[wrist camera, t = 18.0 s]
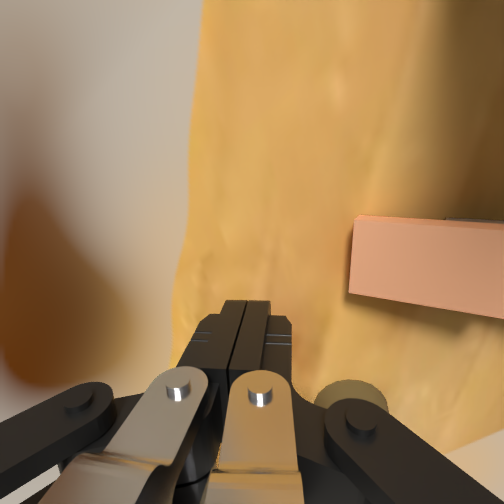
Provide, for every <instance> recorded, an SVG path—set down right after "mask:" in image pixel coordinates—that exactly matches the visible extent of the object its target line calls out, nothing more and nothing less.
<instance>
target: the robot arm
mask: <svg viewBox="0 0 504 504" xmlns="http://www.w3.org/2000/svg"><path fill="white" fill-rule="evenodd" d="M291 370H292V324H291V323H290V322H289V320H288V319H287V318H286V316H275V315H271V304H270V301H256V300H249V301H247V300H226V301H225V303H224V306H223V308H222V310H221V312H220V314H209V315H208V316H207V317H206V318H204V319H203V320H202V321H200V323H199V325H198V327H197V328H196V330H195V333H194V334H193V336H192V338H191V341H190V342H189V344H188V345H187V347H186V349H185V351H184V353H183V355H182V357H181V359H180V360H179V362H178V364H177V366H176V368H173V369H170V370H167V371H165V372H163V373H162V374H160V375H159V376H157V378H155V379H154V380H153V382H152V383H151V384H150V386H149V387H148V389H147V390H146V391H145V393H141V394H137V395H131V396H126V397H121V398H115V399H114V396H113V391H112V389H111V387H110V386H109V385H107V384H105V383H102V382H88V383H84V384H80V385H77V386H75V387H72V388H70V389H68V390H66V391H64V392H62V393H60V394H58V395H56V396H54V397H52V398H50V399H48V400H46V401H43V402H42V403H39V404H38V405H36V406H33V407H31V408H29V409H27V410H25V411H23V412H21V413H19V414H17V415H15V416H13V417H11V418H9V419H7V420H5V421H3V422H1V423H0V499H2V498H3V497H5V496H7V495H8V494H9V493H11V492H13V491H15V490H16V489H18V488H19V487H21V486H23V485H24V484H26V483H27V482H29V481H31V480H32V479H34V478H36V477H37V476H39V475H40V474H42V473H43V472H45V471H47V470H48V469H50V468H52V467H53V466H55V465H56V464H57V465H58V468H59V471H60V476H59V477H58V478H57V480H55V481H54V482H52V483H51V484H49V485H48V486H46V487H44V488H43V489H42V490H40V491H38V492H37V493H35V494H34V495H32V496H31V497H29V498H28V499H26V500H25V501H23V502H21V503H20V504H504V502H503V501H502V500H500V499H499V498H498V497H496V496H495V495H494V494H492V493H491V492H490V491H489V490H487V489H486V488H485V487H484V486H482V485H481V484H480V483H478V482H477V481H476V480H474V479H473V478H472V477H471V476H469V475H468V474H467V473H465V472H464V471H462V470H461V469H460V468H459V467H458V466H456V465H455V464H453V463H452V462H451V461H450V460H449V459H447V458H446V457H445V456H443V455H442V454H441V453H440V452H438V451H437V450H436V449H434V448H433V447H432V446H430V445H429V444H428V443H427V442H425V441H424V440H423V439H421V438H420V437H419V436H417V435H416V434H415V433H414V432H412V431H411V430H410V429H408V428H407V427H406V426H405V425H403V424H402V423H401V422H399V421H398V420H397V419H395V418H394V417H393V416H392V415H390V414H389V413H388V412H386V411H385V410H384V409H382V408H381V407H379V406H378V405H376V404H374V403H372V402H369V401H367V400H363V399H357V398H346V399H341V400H338V401H336V402H334V403H333V404H332V405H331V406H330V407H329V408H328V409H326V408H323V407H320V406H317V405H315V404H312V403H310V402H308V401H306V400H305V399H303V398H302V397H301V396H300V395H299V394H298V393H297V392H296V391H295V389H294V388H293V385H292V382H291ZM220 443H222V446H221V452H220V458H219V464H218V468H217V465H216V459H217V455H218V451H219V447H220Z"/></svg>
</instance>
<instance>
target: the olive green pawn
mask: <svg viewBox="0 0 504 504" xmlns="http://www.w3.org/2000/svg"><path fill="white" fill-rule="evenodd" d="M346 398H357V399H363V400H367V401H369V402H372V403H374V404H376V405H378V406H379V407H381V408H382V409H384V410H385V411H386V412H388V413H389V411H388V406H387V402H386V399H385V397H384V396H383V394H382V393H381V391H379V390H378V389H377V388H375V387H374V386H373V385H371V384H368V383H366V382H363V381H359V380H343V381H337V382H335V383H332V384H330V385H328V386H326V387H325V388H324V389H323V390H322V391H321V392H320V393H319V394H318V396H317V397H316V399H315V401H314V404H315V405H317V406H320V407H323V408H326V409H328V408H329V407H330V406H331V405H332V404H333V403H334V402H336V401H338V400H341V399H346Z"/></svg>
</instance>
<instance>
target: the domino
mask: <svg viewBox="0 0 504 504" xmlns="http://www.w3.org/2000/svg"><path fill="white" fill-rule="evenodd" d="M349 293H353V294H359V295H365V296H371V297H377V298H383V299H389V300H394V301H400V302H406V303H412V304H418V305H424V306H430V307H436V308H442V309H448V310H454V311H460V312H466V313H472V314H478V315H483V316H489V317H495V318H501V319H504V224H497V223H481V222H465V221H449V220H433V219H418V218H402V217H386V216H370V215H358V216H357V217H356V219H355V220H354V229H353V242H352V255H351V268H350V281H349Z"/></svg>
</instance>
